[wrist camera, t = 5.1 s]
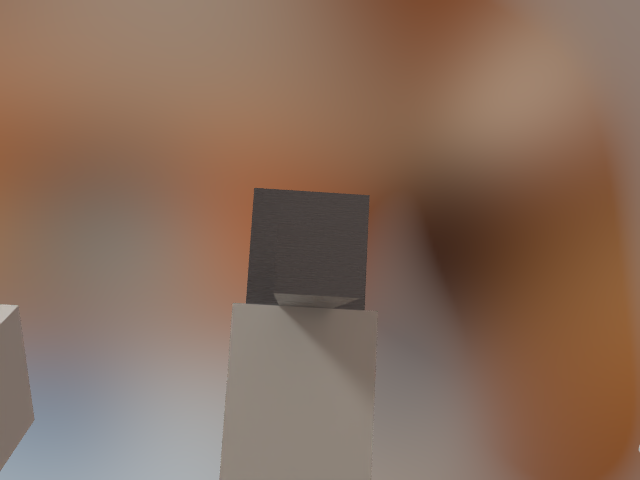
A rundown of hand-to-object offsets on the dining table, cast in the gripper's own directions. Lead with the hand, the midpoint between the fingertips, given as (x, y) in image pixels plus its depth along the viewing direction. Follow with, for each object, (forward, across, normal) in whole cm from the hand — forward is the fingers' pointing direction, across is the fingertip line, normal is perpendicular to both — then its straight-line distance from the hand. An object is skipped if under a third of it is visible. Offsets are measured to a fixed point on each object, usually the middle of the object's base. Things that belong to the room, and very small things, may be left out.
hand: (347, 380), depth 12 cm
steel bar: (+10, -1, -4) cm, 10 cm away
